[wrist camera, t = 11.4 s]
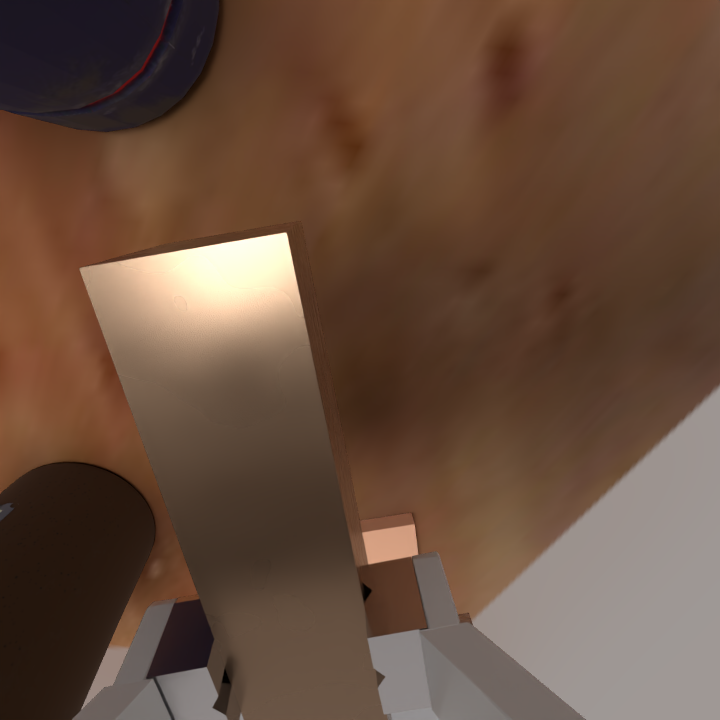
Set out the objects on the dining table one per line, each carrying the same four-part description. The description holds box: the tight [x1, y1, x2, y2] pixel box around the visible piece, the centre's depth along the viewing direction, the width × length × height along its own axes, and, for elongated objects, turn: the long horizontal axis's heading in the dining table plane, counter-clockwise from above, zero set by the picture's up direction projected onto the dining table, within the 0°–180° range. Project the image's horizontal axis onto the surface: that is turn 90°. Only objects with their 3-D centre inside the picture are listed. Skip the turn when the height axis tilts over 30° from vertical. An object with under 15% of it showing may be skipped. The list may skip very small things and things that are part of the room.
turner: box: [79, 221, 473, 720], centre depth 9 cm, size 7×15×3 cm, turn 9°
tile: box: [360, 513, 418, 564], centre depth 32 cm, size 7×2×8 cm
